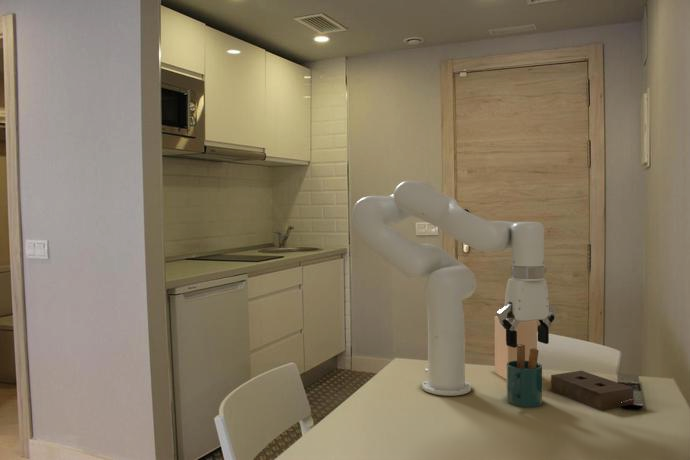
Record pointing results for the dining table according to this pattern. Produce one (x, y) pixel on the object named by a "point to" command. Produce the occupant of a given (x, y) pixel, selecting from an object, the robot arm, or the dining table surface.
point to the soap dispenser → (507, 353)
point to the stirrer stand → (592, 390)
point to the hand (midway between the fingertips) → (527, 344)
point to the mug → (524, 385)
